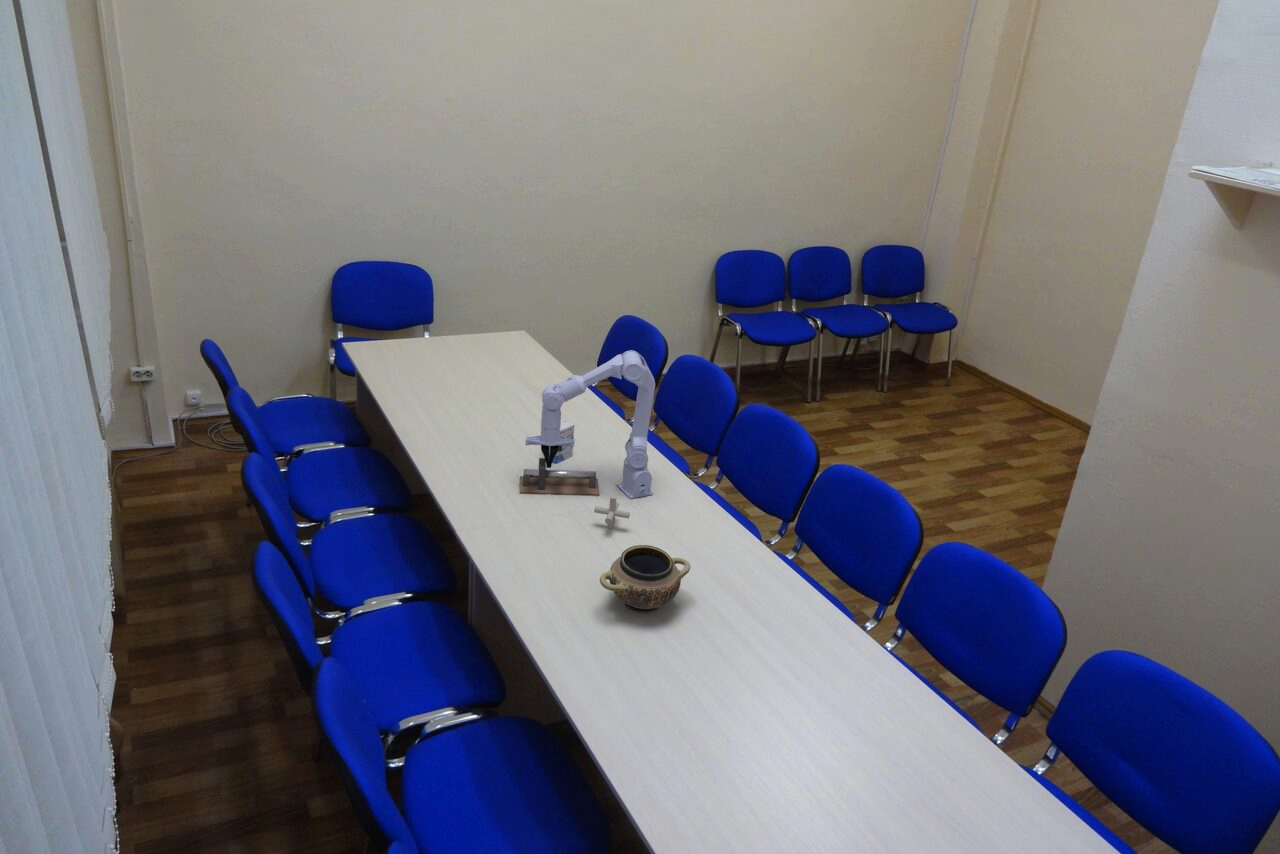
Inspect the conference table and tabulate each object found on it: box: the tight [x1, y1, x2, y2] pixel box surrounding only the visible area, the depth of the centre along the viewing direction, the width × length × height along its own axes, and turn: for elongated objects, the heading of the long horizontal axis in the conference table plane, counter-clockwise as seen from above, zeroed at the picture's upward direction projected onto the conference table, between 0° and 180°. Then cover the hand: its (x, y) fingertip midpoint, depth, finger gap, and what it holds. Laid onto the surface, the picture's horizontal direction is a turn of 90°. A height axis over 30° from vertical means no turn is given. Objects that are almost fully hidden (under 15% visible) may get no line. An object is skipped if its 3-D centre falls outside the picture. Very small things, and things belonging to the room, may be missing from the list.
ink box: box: [549, 419, 575, 465], centre depth 298 cm, size 8×5×12 cm, turn 143°
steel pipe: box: [522, 468, 597, 488], centre depth 281 cm, size 22×3×5 cm, turn 96°
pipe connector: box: [593, 495, 631, 530], centre depth 262 cm, size 10×10×10 cm
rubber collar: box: [538, 457, 547, 489], centre depth 280 cm, size 2×7×7 cm, turn 6°
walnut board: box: [519, 475, 600, 497], centre depth 283 cm, size 24×10×1 cm, turn 96°
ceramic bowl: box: [599, 544, 691, 614], centre depth 230 cm, size 24×18×15 cm
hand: (548, 466), depth 279 cm, fingers closed
